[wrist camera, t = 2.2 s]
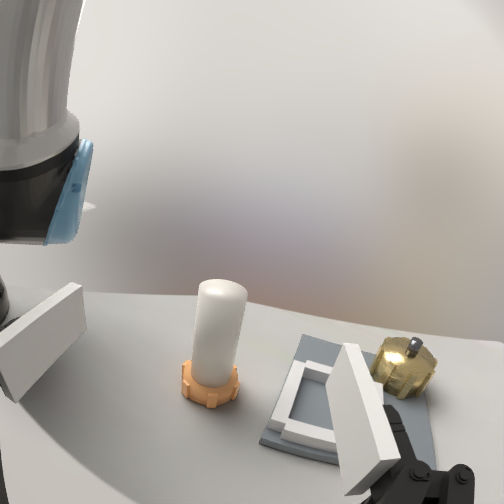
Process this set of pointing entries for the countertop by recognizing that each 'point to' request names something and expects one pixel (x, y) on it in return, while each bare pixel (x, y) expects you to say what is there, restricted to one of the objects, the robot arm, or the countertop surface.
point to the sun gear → (403, 367)
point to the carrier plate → (318, 411)
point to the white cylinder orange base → (215, 344)
